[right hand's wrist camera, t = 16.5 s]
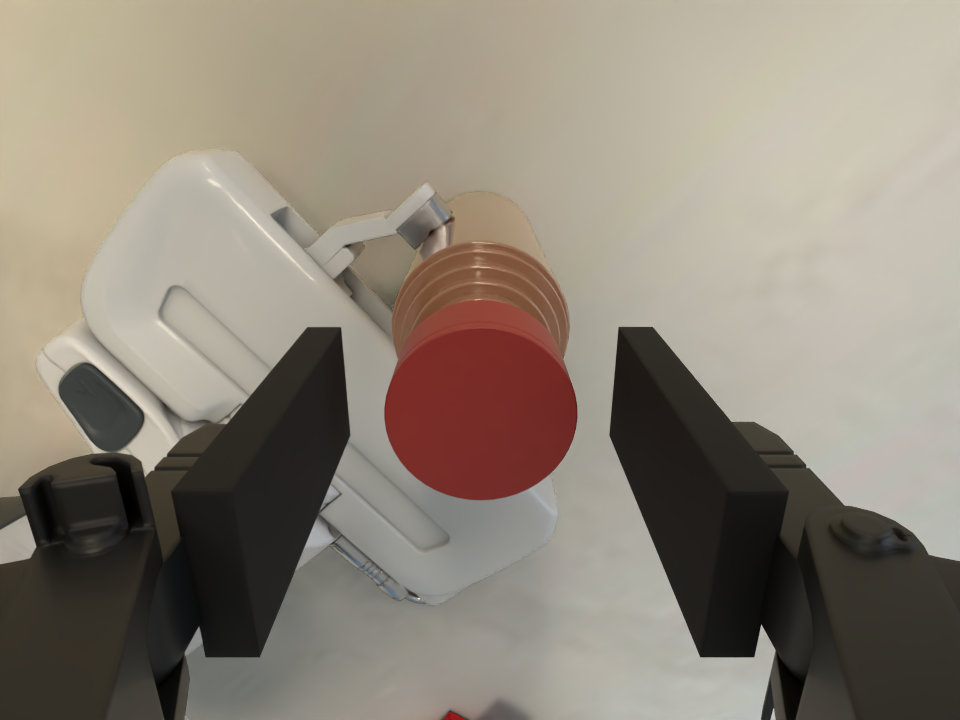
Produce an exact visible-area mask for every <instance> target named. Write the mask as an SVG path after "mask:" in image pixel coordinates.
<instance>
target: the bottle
mask: <svg viewBox="0 0 960 720" xmlns="http://www.w3.org/2000/svg"><path fill="white" fill-rule="evenodd" d="M446 204H447V205H448V206H449V208H450V209H451V210H452V211H453V213H452V216H451V217H450V218H449V219H448V220H447V221H446V222H445V223H444V224H443V225H442V226H440V227H439V228H438V229H436V230H431V232H430V235H429V237H428V238H427V239H426V240H425V241H424V242H423V243H422V244H421V245H420V247H419V250H418V252H417V254H416V256H415V258H414V260H413V262H412V264H411V267H410V269H409V271H408V273H407V275H406V277H405V279H404V282H403V284H402V286H401V288H400V290H399V293H398V295H397V297H396V300H395V304H394V308H393V312H392V321H391V326H392V338H393V344H394V347H395V351H396V355H397V358H399V355H400V352H401V350H402V348H403V346H404V344H405V342H406V340H407V339H408V337H409V336H410V334H411V333H412V332H413V330H414V329H415V328H416V327H417V326H418V325H419V324H420V323H421V322H422V321H423V320H425V319H426V318H427V317H429V316H430V315H432V314H433V313H435V312H436V311H438V310H440V309H442V308H444V307H446V306H449V305H452V304H455V303H459V302H464V301H471V300H492V301H497V302H502V303H506V304H509V305H512V306H515V307H517V308H519V309H521V310H523V311H525V312H527V313H528V314H530V315H531V316H533V317H534V318H536V319H537V320H538V321H539V322H540V323H541V324H543V326H544V327H545V328H546V329H547V330H548V331H549V332H550V334H551V335H552V337H553V338H554V340H555V341H556V343H557V345H558V347H559V349H560V352H561V354H562V357H563V358H564V355H565V351H566V348H567V343H568V339H569V328H570V324H569V313H568V308H567V303H566V301H565V298H564V295H563V292H562V290H561V288H560V286H559V284H558V282H557V280H556V278H555V276H554V274H553V271H552V269H551V267H550V265H549V263H548V261H547V259H546V257H545V255H544V253H543V250H542V248H541V246H540V244H539V242H538V240H537V238H536V236H535V234H534V232H533V229H532V227H531V225H530V223H529V221H528V219H527V217H526V216H525V215H524V213H523V212H522V211H521V210H520V208H519V207H518V206H517V205H515V204H514V203H513V202H512V201H510V200H509V199H507V198H505V197H503V196H501V195H498V194H495V193H491V192H481V191H477V192H470V193H466V194H462V195H460V196H457V197H455V198H454V199H452V200H450V201H449V202H448V203H446Z"/></svg>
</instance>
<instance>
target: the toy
mask: <svg viewBox="0 0 960 720" xmlns="http://www.w3.org/2000/svg"><path fill="white" fill-rule="evenodd" d="M444 720H466V719H464V718H462V717H460V716H458V715H456V714H454V713H452V712H450V713H449V714H448V715H447V716H446V718H445V719H444Z"/></svg>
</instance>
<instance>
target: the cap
mask: <svg viewBox="0 0 960 720" xmlns="http://www.w3.org/2000/svg"><path fill="white" fill-rule="evenodd" d="M384 420H385V427H386V432H387V435H388V439H389V442H390V444H391V446H392V448H393V451H394V452H395V454H396V456H397V457H398V459H399V460H400V462H401V463H402V464H403V465H404V467H405V468H406V469H407V470H408V471H409V472H410V473H411V474H412V475H413V476H414V477H415V478H417V479H418V480H420V481H421V482H422V483H424V484H425V485H427V486H429V487H430V488H432V489H434V490H436V491H438V492H441V493H443V494H446V495H449V496H453V497H456V498H461V499H467V500H494V499H500V498H506V497H509V496H512V495H516V494H518V493H521V492H523V491H525V490H528V489H529V488H531V487H533V486H535V485H536V484H538V483H539V482H541V481H542V480H543V479H545V478H546V477H547V476H548V475H549V474H550V473H551V472H552V471H553V470H554V469H555V468H556V467H557V466H558V465H559V463H560V462H561V461H562V460H563V458H564V456H565V455H566V453H567V451H568V450H569V447H570V445H571V443H572V440H573V437H574V434H575V430H576V424H577V403H576V397H575V393H574V389H573V386H572V383H571V380H570V378H569V375H568V372H567V369H566V366H565V363H564V360H563V357H562V354H561V352H560V349H559V347H558V345H557V343H556V341H555V340H554V338H553V337H552V335H551V334H550V332H549V331H548V330H547V329H546V328H545V327H544V326H543V324H541V323H540V322H539V321H538V320H537V319H536V318H534V317H533V316H531V315H530V314H528V313H527V312H525V311H523V310H521V309H519V308H517V307H515V306H512V305H509V304H506V303H502V302H497V301H492V300H471V301H464V302H459V303H455V304H452V305H449V306H446V307H444V308H442V309H440V310H438V311H436V312H435V313H433V314H432V315H430V316H429V317H427V318H426V319H425V320H423V321H422V322H421V323H420V324H419V325H418V326H417V327H416V328H415V329H414V330H413V332H412V333H411V334H410V336H409V337H408V339H407V340H406V342H405V344H404V346H403V348H402V350H401V352H400V355H399V358H398V361H397V364H396V367H395V370H394V373H393V376H392V379H391V382H390V385H389V388H388V391H387V395H386V400H385V406H384Z"/></svg>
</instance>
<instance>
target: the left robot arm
mask: <svg viewBox="0 0 960 720" xmlns="http://www.w3.org/2000/svg"><path fill="white" fill-rule="evenodd" d="M452 213H453V211H452V210H451V209H450V208H449V206H448V205H447V204H446V203H445V202H444V200H443V199H442V198H441V197H440V196H439V194H438V193H437V192H435V190H434V188H433V187H432V186H431V185H430V184H429V183H428V182H427V181H426V182H425V183H424V184H423V185H421V186H420V187H419V188H418V189H417V190H416V191H415V192H414V193H413V194H412V195H411V196H410V197H409V198H407V199H406V200H405V201H404V202H403V203H402V204H401V205H400V206H399V207H398V208H397V209H396V210H395V211H393V212H392V211H391V210H387V211H382V212H377V213H372V214H367V215H362V216H357V217H352V218H347V219H342V220H340V221H339V222H337V223H336V224H335V225H333V226H332V227H331V228H329V229H328V230H327V231H326V232H325V233H324V234H323V235H322V236H320V235H319V234H318V233H317V232H316V231H315V230H314V229H313V228H312V227H311V226H310V225H309V224H308V223H307V222H306V221H305V220H304V219H303V218H302V217H301V216H300V215H299V214H298V212H297V211H296V210H295V209H294V208H293V207H292V206H291V205H290V204H289V203H288V202H287V201H286V200H285V199H284V198H283V197H282V196H281V195H280V194H279V193H278V192H277V191H276V190H275V189H274V188H273V187H272V185H271V184H270V183H269V182H268V181H267V180H266V179H265V178H264V177H263V176H262V175H261V174H260V173H259V172H258V171H257V170H256V169H255V168H254V167H253V166H252V165H251V164H250V162H249V161H248V160H247V159H246V158H244V157H243V156H242V155H241V154H239V153H238V152H235V151H232V150H214V149H207V150H194V151H188V152H184V153H181V154H179V155H176V156H174V157H173V158H171V159H169V160H168V161H167V162H166V163H164V164H163V165H162V166H161V167H160V168H159V169H158V170H157V171H156V172H155V173H154V174H153V175H152V177H151V178H150V179H149V180H148V181H147V182H146V184H145V185H144V186H143V187H142V188H141V190H140V191H139V192H138V193H137V195H136V196H135V197H134V198H133V200H132V201H131V202H130V203H129V205H128V206H127V207H126V209H125V210H124V212H123V213H122V214H121V216H120V217H119V218H118V220H117V221H116V223H115V224H114V225H113V227H112V228H111V230H110V231H109V233H108V234H107V236H106V237H105V239H104V240H103V242H102V244H101V245H100V247H99V248H98V250H97V252H96V253H95V255H94V256H93V258H92V260H91V262H90V264H89V266H88V268H87V270H86V273H85V275H84V278H83V282H82V287H81V308H82V312H83V317H82V318H80V319H79V320H77V321H76V322H74V323H73V324H71V325H70V326H69V327H67V328H66V329H65V330H63V331H62V332H61V333H60V334H58V335H57V336H56V337H55V338H53V339H52V340H51V341H50V342H49V343H48V344H47V345H46V346H45V347H44V348H43V349H42V350H41V351H40V353H39V354H38V356H37V358H36V369H37V372H38V374H39V376H40V378H41V380H42V381H43V383H44V385H45V386H46V387H47V389H48V390H49V392H50V393H51V394H52V396H53V397H54V398H55V400H56V401H57V402H58V404H59V405H60V406H61V408H62V409H63V410H64V412H65V413H66V414H67V416H68V417H69V419H70V420H71V421H72V423H73V424H74V426H75V427H76V428H77V430H78V431H79V433H80V434H81V436H82V437H83V438H84V440H85V442H86V443H87V445H88V446H89V448H90V449H91V451H92V452H93V454H95V453H113V452H117V453H123V454H129V455H133V456H134V457H136V458H137V459H139V460H140V461H141V462H142V466H143V471H144V475H145V477H146V476H147V474H148V473H149V472H150V471H154V467H155V466H156V465H157V464H158V463H159V462H160V461H161V460H162V458H163V457H167V453H168V452H169V451H170V450H171V449H172V448H173V447H174V446H175V445H176V443H177V442H178V441H179V440H180V439H181V438H182V437H184V436H186V435H188V434H189V433H191V432H193V431H195V430H196V429H198V428H200V427H202V426H204V425H205V424H227V423H228V422H229V421H230V420H231V418H232V417H233V416H234V415H235V414H236V412H237V411H238V410H239V409H240V408H241V406H242V405H243V404H244V403H245V402H246V400H247V399H248V398H249V397H250V395H251V394H252V393H253V392H254V391H255V389H256V388H257V387H258V386H259V385H260V383H261V382H262V381H263V380H264V379H265V377H266V376H267V375H268V374H269V373H270V371H271V370H272V369H273V368H274V367H275V365H276V364H277V363H278V362H279V361H280V359H281V358H282V357H283V356H284V355H285V353H286V352H287V351H288V350H289V349H290V347H291V346H292V345H293V344H294V342H295V341H296V340H297V339H298V338H299V336H300V335H301V334H302V333H303V332H304V330H305V329H306V328H307V327H341V330H342V342H343V354H344V365H345V377H346V389H347V401H348V412H349V424H350V438H349V440H348V443H347V445H346V448H345V450H344V452H343V455H342V457H341V460H340V462H339V465H338V467H337V469H336V472H335V474H334V477H333V479H332V482H331V484H330V487H329V489H328V491H327V494H326V496H325V499H324V501H323V504H322V506H321V509H320V511H319V513H318V516H317V518H316V521H315V523H314V526H313V528H312V531H311V533H310V535H309V538H308V540H307V543H306V545H305V548H304V550H303V553H302V555H301V557H300V560H299V562H298V565H297V567H296V570H298V569H299V568H300V567H301V566H303V565H304V564H306V563H307V562H308V561H309V560H311V559H312V558H313V557H314V556H316V555H317V554H318V553H320V552H321V551H322V550H323V549H325V548H326V547H327V546H330V547H331V548H332V549H334V550H335V551H336V552H337V553H338V554H339V555H341V556H342V557H343V558H344V559H345V560H346V561H348V562H349V563H350V564H351V565H353V566H354V567H355V568H357V569H358V570H360V571H362V572H363V573H365V574H367V576H369V577H370V578H371V579H372V580H373V581H374V582H376V585H377V586H378V587H379V589H380V590H381V591H383V592H384V593H385V594H386V595H388V596H389V597H391V598H393V599H395V600H397V601H401V600H403V599H404V598H406V599H407V600H409V601H412V602H416V603H421V604H428V605H430V606H435V605H439V604H441V603H443V602H445V601H447V600H448V599H450V598H451V597H453V596H454V595H456V594H457V593H458V592H460V591H461V590H463V589H464V588H466V587H467V586H469V585H472V584H474V583H476V582H478V581H480V580H482V579H484V578H486V577H488V576H490V575H492V574H494V573H496V572H498V571H500V570H502V569H504V568H506V567H507V566H509V565H511V564H513V563H515V562H516V561H518V560H520V559H522V558H523V557H525V556H527V555H528V554H530V553H532V552H533V551H535V550H537V549H538V548H540V547H541V546H542V545H544V544H545V543H546V542H547V541H549V539H550V538H551V537H552V535H553V533H554V529H555V525H556V522H557V518H558V506H557V500H556V494H555V490H554V486H553V482H552V479H551V477H550V475H548V476H547V477H546V478H545V479H543V480H542V481H541V482H539V483H538V484H536V485H535V486H533V487H531V488H529V489H528V490H525V491H523V492H521V493H518V494H516V495H512V496H509V497H506V498H500V499H494V500H467V499H461V498H456V497H453V496H449V495H446V494H443V493H441V492H438V491H436V490H434V489H432V488H430V487H429V486H427V485H425V484H424V483H422V482H421V481H420V480H418V479H417V478H415V477H414V476H413V475H412V474H411V473H410V472H409V471H408V470H407V469H406V468H405V467H404V465H403V464H402V463H401V462H400V460H399V459H398V457H397V456H396V454H395V452H394V451H393V448H392V446H391V444H390V442H389V439H388V435H387V432H386V427H385V420H384V406H385V400H386V395H387V391H388V388H389V385H390V382H391V379H392V376H393V373H394V370H395V367H396V364H397V361H398V358H397V355H396V351H395V347H394V344H393V338H392V326H391V321H392V312H393V311H392V310H391V309H390V308H389V307H388V306H387V305H386V304H385V303H384V302H383V301H382V300H381V299H380V298H379V297H378V296H377V295H376V294H375V292H374V291H373V290H372V289H371V288H370V287H369V286H368V285H367V284H366V283H365V282H364V281H363V280H362V279H361V278H360V277H359V276H358V275H357V274H356V273H355V272H354V271H353V270H352V269H351V268H350V267H349V265H350V264H351V263H352V262H353V261H354V260H355V259H356V258H357V257H358V255H359V254H360V253H361V252H362V251H363V250H364V244H363V243H362V241H367V240H372V239H376V238H381V237H386V236H390V235H395V234H398V233H399V234H400V235H401V236H402V237H403V238H404V239H405V240H406V241H407V242H408V243H409V244H410V245H411V246H412V247H413V248H414V249H416V248H417V247H419V246H420V245H421V244H422V243H423V242H424V241H425V240H426V239H427V238H428V237H429V235H430V232H431V230H436V229H438V228H439V227H440V226H442V225H443V224H444V223H445V222H446V221H447V220H448V219H449V218H450V217H451V216H452ZM35 548H36V544H35V541H34V538H33V534H32V531H31V528H30V525H29V522H28V519H27V515H26V512H25V509H24V506H23V503H22V499H21V496H16V497H3V498H0V564H4V563H9V562H15V561H20V560H25V559H29V558H31V556H32V554H33V552H34V550H35ZM296 570H295V571H296ZM202 643H203V642H202V637H201V632H200V627H198V629H197V631H196V633H195V635H194V637H193V638H192V640H191V642H190V644H189V646H188V647H187V649H186V651H185V656H187V655H189V654H190V653H191V652H192V651H194V650H195V649H196V648H198V647H199V646H200V645H201V644H202ZM184 720H190V719H189V718H188V717H187V716H186V715H185V719H184Z"/></svg>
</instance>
